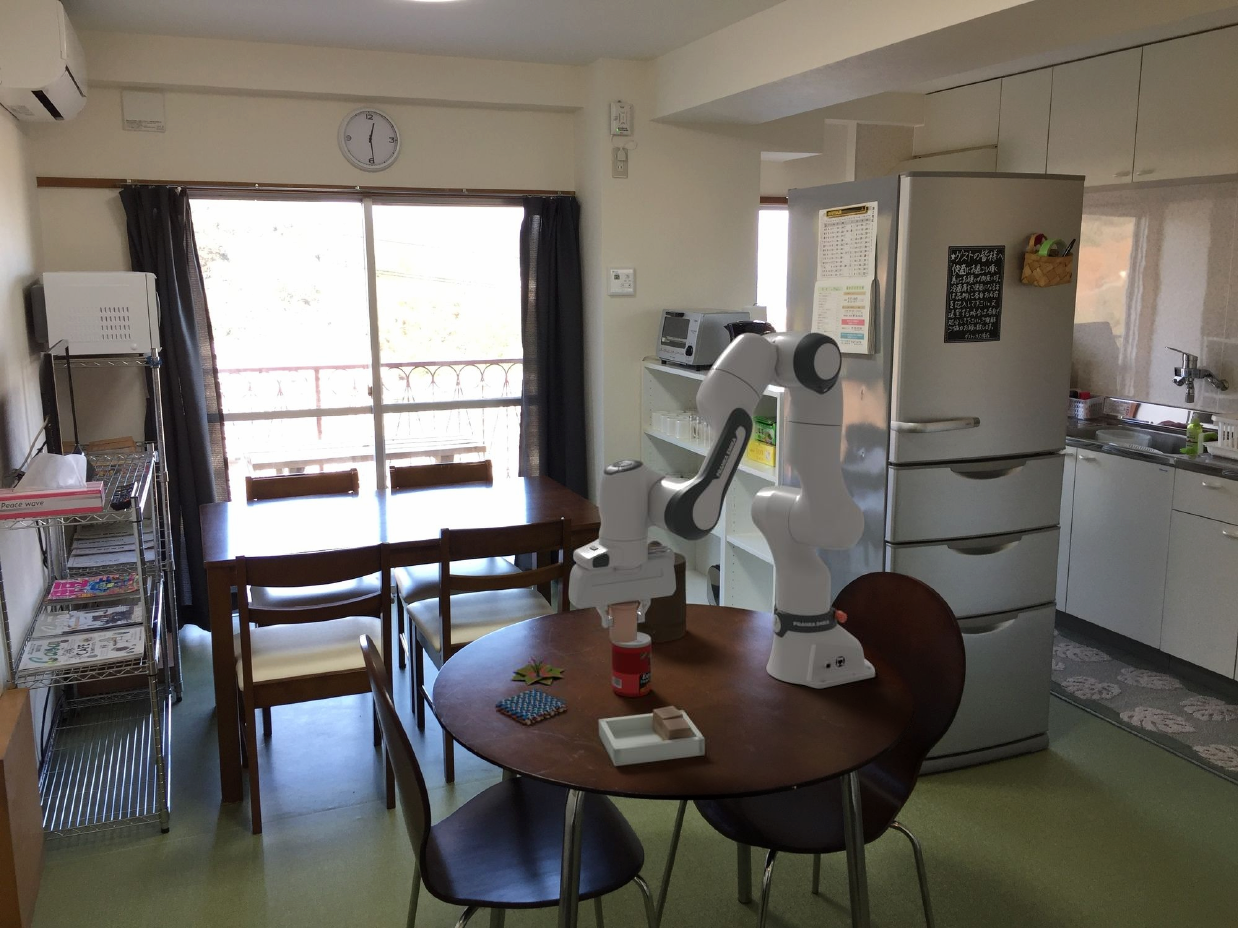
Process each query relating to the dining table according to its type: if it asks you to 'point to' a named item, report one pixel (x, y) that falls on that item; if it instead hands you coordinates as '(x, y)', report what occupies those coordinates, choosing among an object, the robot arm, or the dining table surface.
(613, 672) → the canned food
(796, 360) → the robot arm
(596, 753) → the dining table surface
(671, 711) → the block
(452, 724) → the dining table surface
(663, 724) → the block
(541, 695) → the woven mat
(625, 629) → the pink lidded jar
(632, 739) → the tray
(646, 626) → the wooden container
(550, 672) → the lily flower
